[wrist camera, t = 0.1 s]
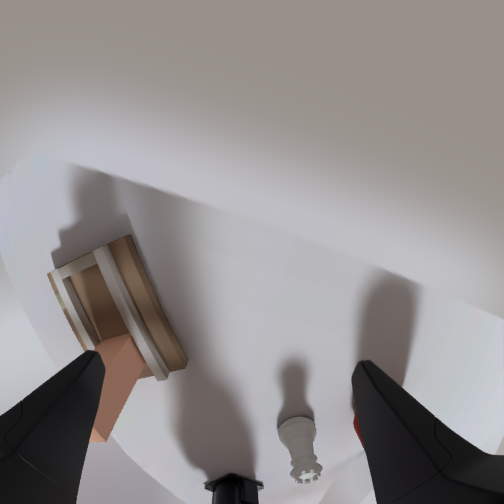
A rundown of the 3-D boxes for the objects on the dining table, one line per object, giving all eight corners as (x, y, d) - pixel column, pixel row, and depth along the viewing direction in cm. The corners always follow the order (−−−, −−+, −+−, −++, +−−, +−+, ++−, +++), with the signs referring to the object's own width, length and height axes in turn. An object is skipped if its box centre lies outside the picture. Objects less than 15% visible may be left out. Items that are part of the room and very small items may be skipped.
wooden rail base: (188, 359, 25) (183, 375, 23) (110, 377, 26) (101, 391, 23) (130, 234, 23) (117, 239, 20) (55, 270, 23) (40, 277, 21)
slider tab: (148, 358, 24) (106, 442, 13) (116, 366, 24) (68, 441, 13) (133, 331, 23) (78, 408, 12) (101, 340, 23) (43, 410, 12)
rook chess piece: (317, 413, 27) (335, 464, 20) (310, 437, 28) (324, 485, 20) (279, 415, 27) (288, 469, 19) (275, 439, 28) (282, 489, 20)
